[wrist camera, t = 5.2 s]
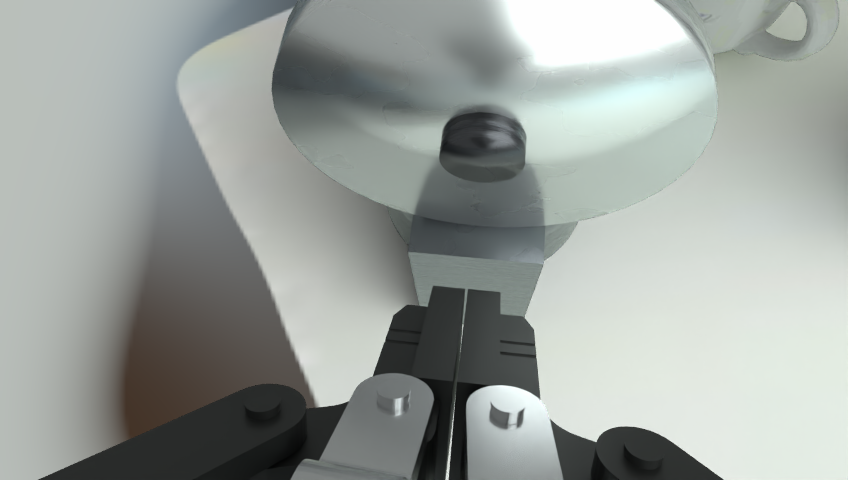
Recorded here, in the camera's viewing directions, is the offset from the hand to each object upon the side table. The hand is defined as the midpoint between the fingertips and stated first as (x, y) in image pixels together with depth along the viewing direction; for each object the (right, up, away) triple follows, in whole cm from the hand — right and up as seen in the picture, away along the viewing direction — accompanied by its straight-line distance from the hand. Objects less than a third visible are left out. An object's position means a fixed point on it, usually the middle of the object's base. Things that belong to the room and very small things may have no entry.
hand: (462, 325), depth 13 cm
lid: (+1, +6, +4) cm, 7 cm away
